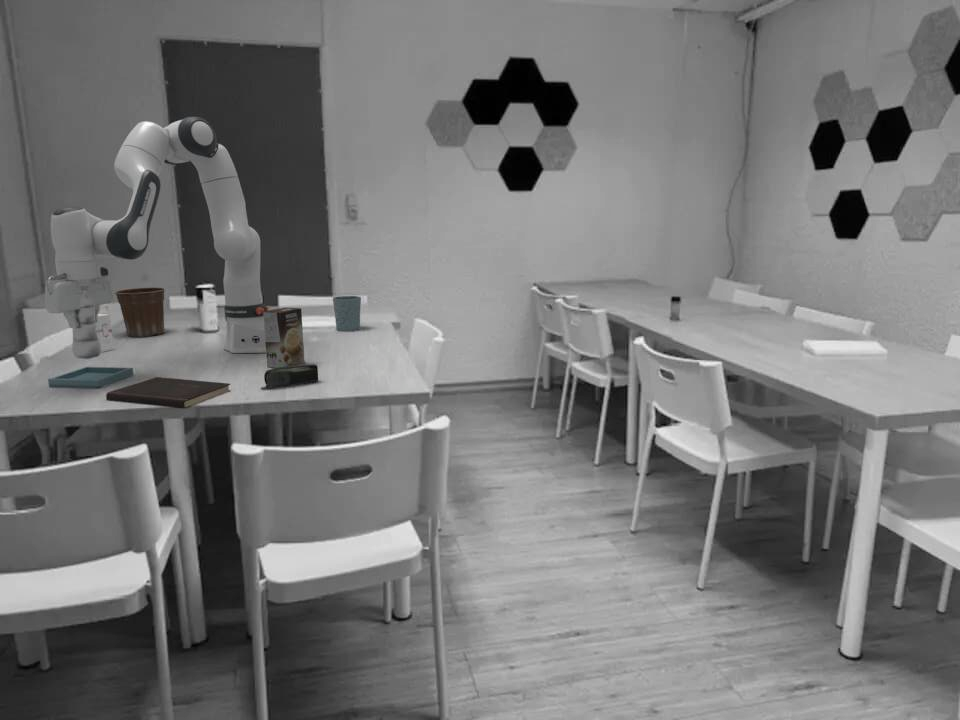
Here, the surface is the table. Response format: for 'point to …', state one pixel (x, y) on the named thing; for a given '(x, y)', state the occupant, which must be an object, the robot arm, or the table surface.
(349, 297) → the blue cup
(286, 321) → the cookie box
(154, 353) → the table surface
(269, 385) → the black long block
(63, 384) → the tray
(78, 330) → the plastic bottle
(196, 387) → the hardcover book
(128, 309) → the plant pot
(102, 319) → the ink cartridge box
